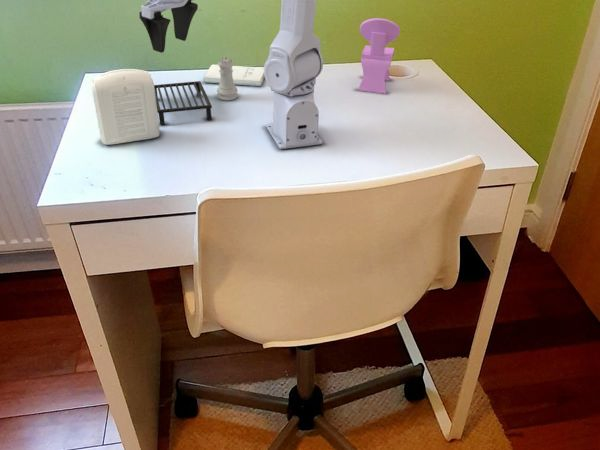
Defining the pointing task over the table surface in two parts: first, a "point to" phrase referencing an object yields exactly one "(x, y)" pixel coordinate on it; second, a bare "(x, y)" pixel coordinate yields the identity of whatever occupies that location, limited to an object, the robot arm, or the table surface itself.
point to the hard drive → (237, 75)
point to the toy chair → (377, 53)
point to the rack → (198, 88)
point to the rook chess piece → (226, 80)
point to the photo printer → (125, 106)
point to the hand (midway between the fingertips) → (169, 44)
